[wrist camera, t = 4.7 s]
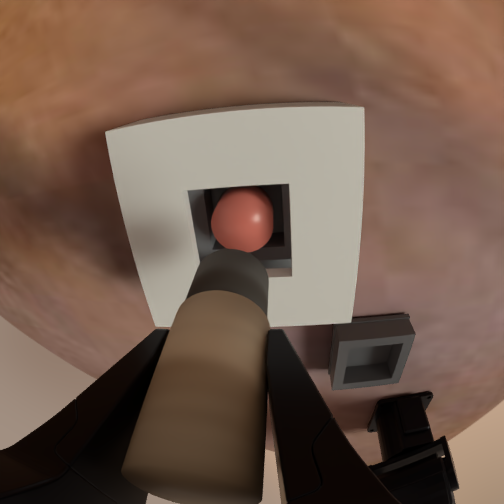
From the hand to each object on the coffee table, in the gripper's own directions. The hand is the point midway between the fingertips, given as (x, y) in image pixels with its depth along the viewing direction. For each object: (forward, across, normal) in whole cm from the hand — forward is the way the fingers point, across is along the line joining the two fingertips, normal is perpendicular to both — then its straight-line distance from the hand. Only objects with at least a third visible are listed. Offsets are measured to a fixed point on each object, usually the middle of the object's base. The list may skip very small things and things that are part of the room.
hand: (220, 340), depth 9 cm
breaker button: (+10, 0, 0) cm, 10 cm away
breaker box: (+11, 0, 0) cm, 11 cm away
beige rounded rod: (+3, 0, 0) cm, 3 cm away
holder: (+11, -8, +12) cm, 19 cm away
